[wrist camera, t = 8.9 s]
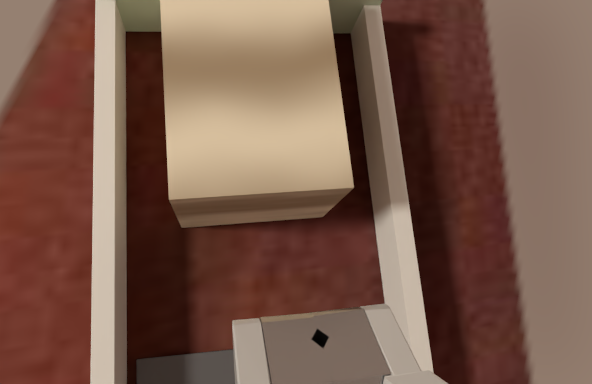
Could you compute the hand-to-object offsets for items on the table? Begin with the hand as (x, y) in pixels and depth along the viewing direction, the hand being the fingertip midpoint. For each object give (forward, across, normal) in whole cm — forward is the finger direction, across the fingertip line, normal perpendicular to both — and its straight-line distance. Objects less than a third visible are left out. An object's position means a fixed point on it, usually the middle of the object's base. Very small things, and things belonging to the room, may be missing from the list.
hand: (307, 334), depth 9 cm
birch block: (+20, -1, +4) cm, 21 cm away
